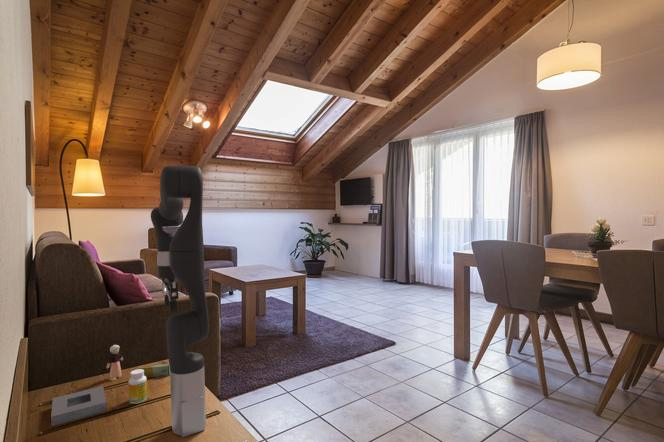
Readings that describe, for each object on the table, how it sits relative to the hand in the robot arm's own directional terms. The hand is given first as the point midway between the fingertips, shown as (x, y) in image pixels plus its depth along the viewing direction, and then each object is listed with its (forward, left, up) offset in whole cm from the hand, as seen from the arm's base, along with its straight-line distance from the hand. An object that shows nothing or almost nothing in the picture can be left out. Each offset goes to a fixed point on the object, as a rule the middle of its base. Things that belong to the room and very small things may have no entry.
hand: (170, 308), depth 135 cm
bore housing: (+2, +28, -28) cm, 40 cm away
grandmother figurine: (+22, +16, -28) cm, 39 cm away
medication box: (+15, +4, -28) cm, 32 cm away
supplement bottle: (-3, +12, -28) cm, 31 cm away
